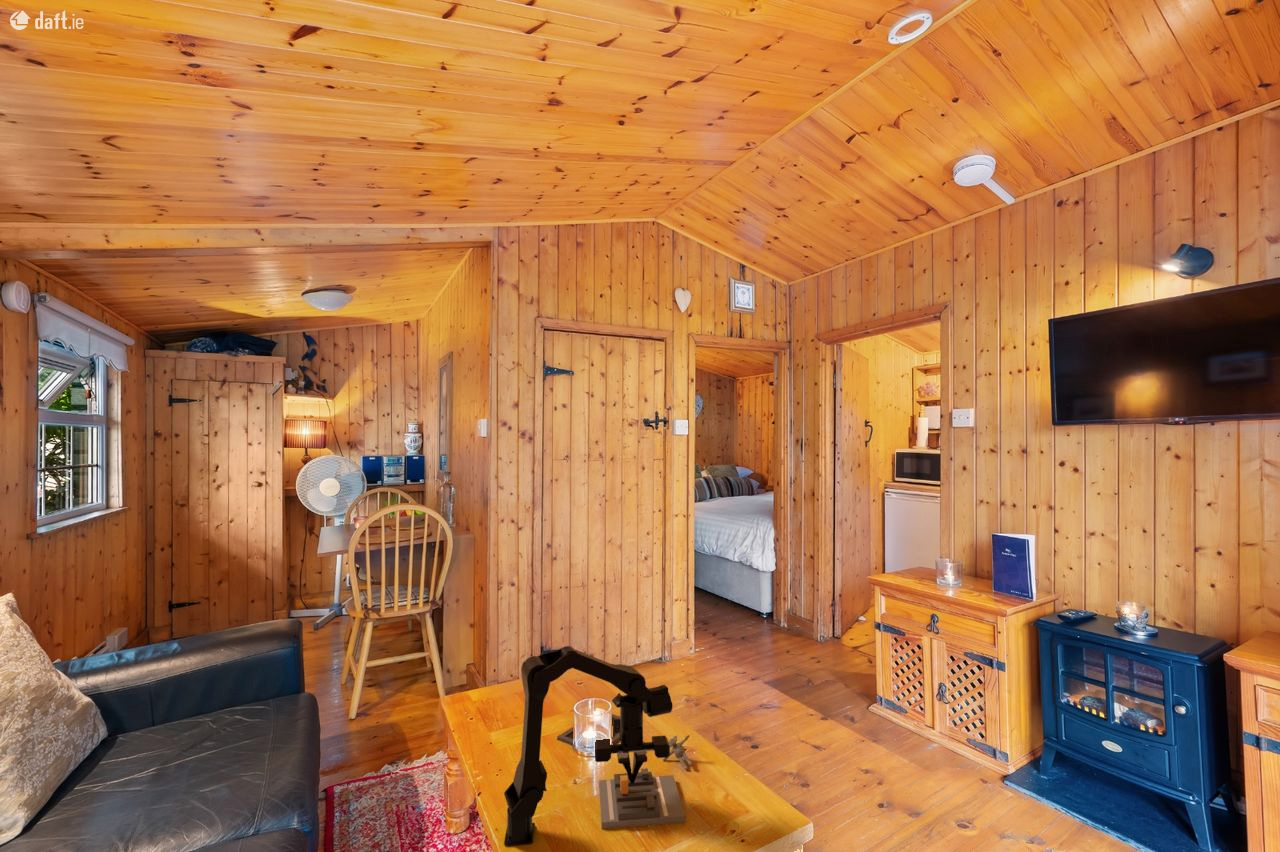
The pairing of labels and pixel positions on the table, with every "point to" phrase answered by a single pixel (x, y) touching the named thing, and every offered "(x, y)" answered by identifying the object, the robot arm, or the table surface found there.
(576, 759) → the table surface
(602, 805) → the panel
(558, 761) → the table surface
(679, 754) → the grey toy figurine
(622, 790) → the handle
